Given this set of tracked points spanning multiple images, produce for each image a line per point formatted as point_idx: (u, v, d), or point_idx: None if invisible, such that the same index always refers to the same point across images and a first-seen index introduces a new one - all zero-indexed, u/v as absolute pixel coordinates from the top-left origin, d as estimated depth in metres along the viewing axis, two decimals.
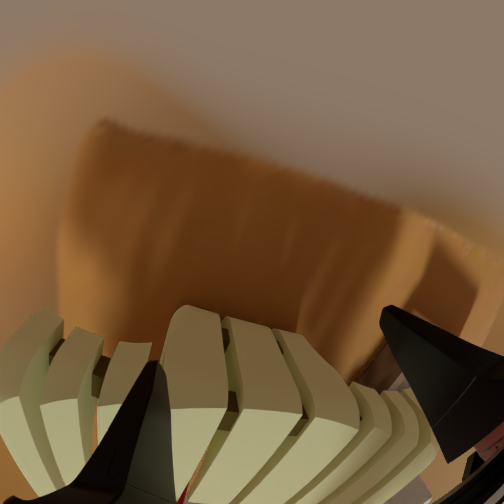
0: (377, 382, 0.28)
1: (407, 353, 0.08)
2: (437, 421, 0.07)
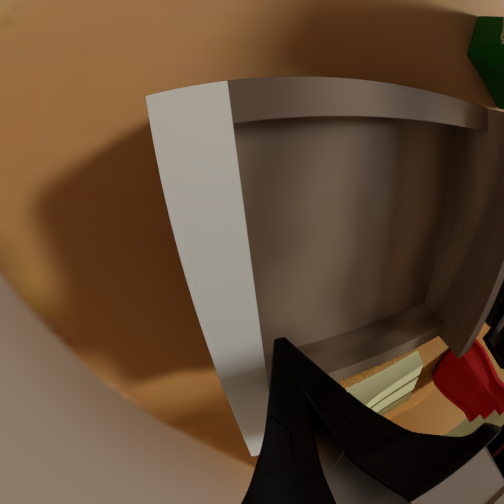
0: None
1: None
2: (327, 475, 0.06)
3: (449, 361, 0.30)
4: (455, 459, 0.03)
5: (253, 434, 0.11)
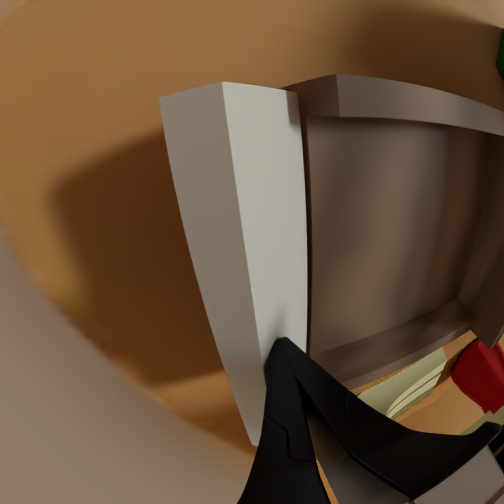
0: None
1: None
2: (329, 475, 0.06)
3: (468, 357, 0.29)
4: (457, 457, 0.03)
5: (253, 425, 0.11)
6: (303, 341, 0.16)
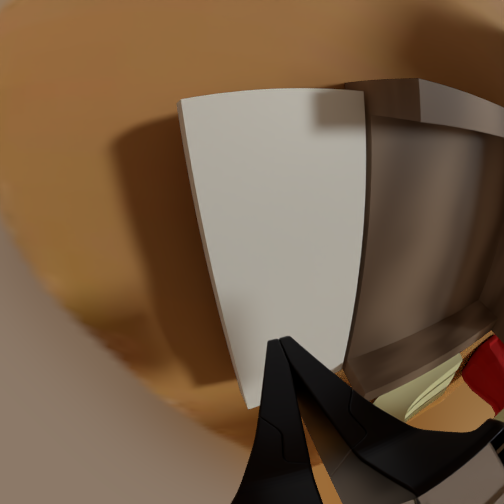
0: None
1: (298, 394, 0.08)
2: (332, 474, 0.06)
3: (480, 357, 0.28)
4: (461, 454, 0.03)
5: (234, 367, 0.14)
6: (336, 341, 0.15)
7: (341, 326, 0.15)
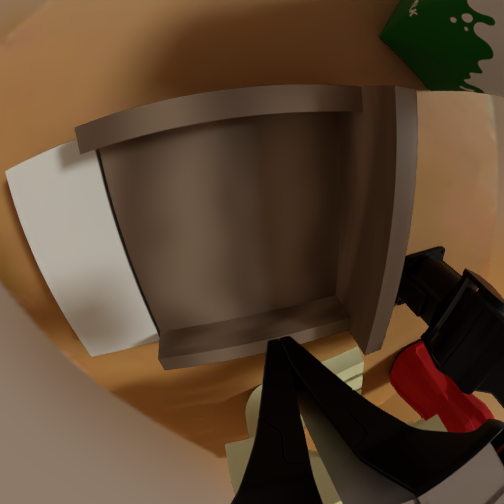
0: None
1: (298, 394, 0.08)
2: (332, 474, 0.06)
3: (403, 361, 0.33)
4: (461, 454, 0.03)
5: None
6: (135, 311, 0.19)
7: (132, 298, 0.19)
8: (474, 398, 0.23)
